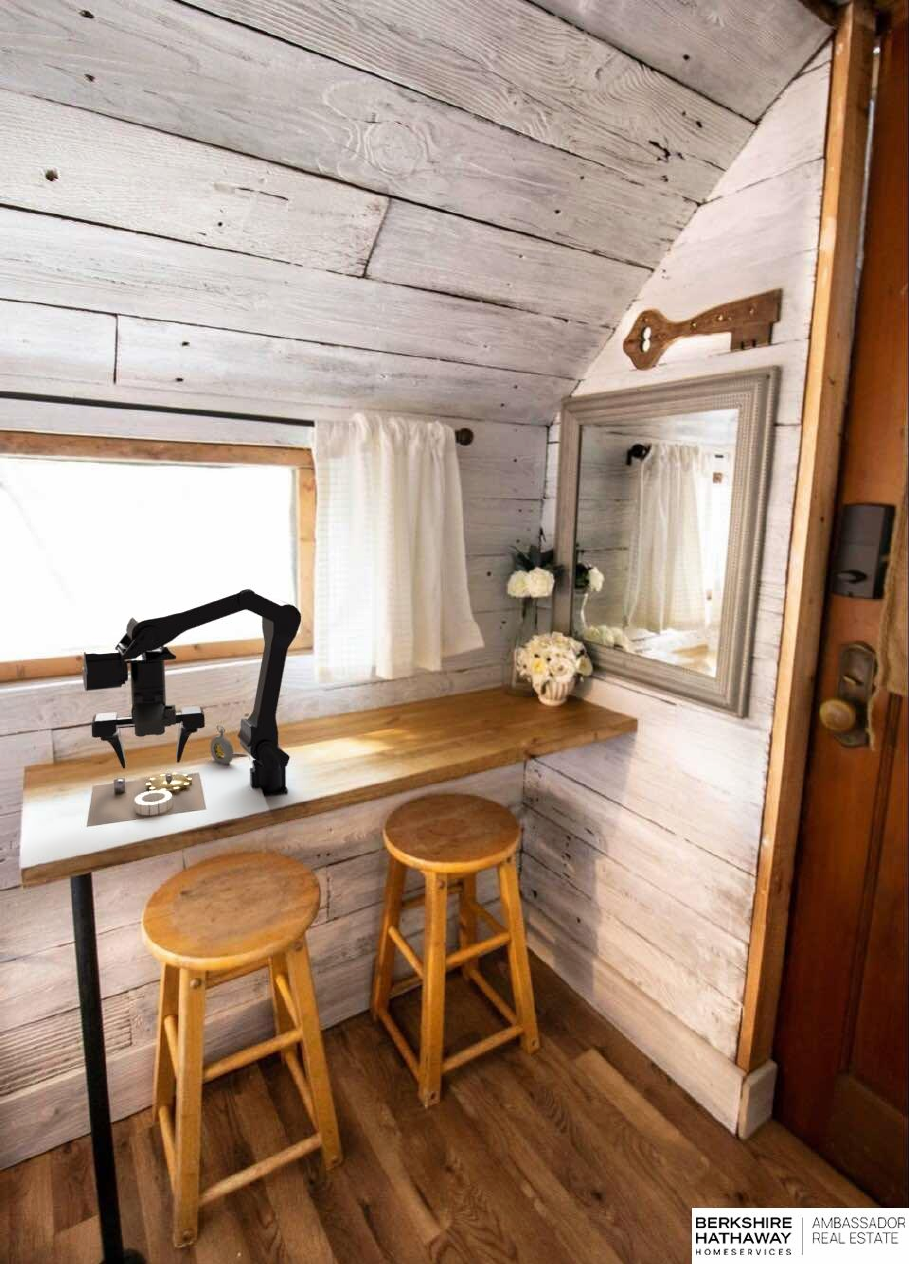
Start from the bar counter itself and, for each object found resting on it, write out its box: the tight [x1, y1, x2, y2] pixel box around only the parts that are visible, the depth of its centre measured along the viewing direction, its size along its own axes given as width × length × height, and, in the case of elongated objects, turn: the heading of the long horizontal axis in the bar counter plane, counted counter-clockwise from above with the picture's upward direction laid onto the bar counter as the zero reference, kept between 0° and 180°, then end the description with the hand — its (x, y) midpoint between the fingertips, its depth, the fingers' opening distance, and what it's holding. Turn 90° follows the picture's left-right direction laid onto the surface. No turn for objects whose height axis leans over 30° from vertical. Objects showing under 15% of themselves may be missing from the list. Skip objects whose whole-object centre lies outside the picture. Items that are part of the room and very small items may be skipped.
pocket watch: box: [209, 725, 251, 765], centre depth 152 cm, size 8×8×10 cm
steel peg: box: [113, 777, 126, 795], centre depth 134 cm, size 2×2×3 cm
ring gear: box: [135, 790, 172, 815], centre depth 129 cm, size 6×6×2 cm
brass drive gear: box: [146, 772, 192, 794], centre depth 138 cm, size 8×8×2 cm
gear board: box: [86, 772, 207, 827], centre depth 133 cm, size 20×18×2 cm
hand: (151, 764), depth 127 cm, fingers open, 9 cm apart
